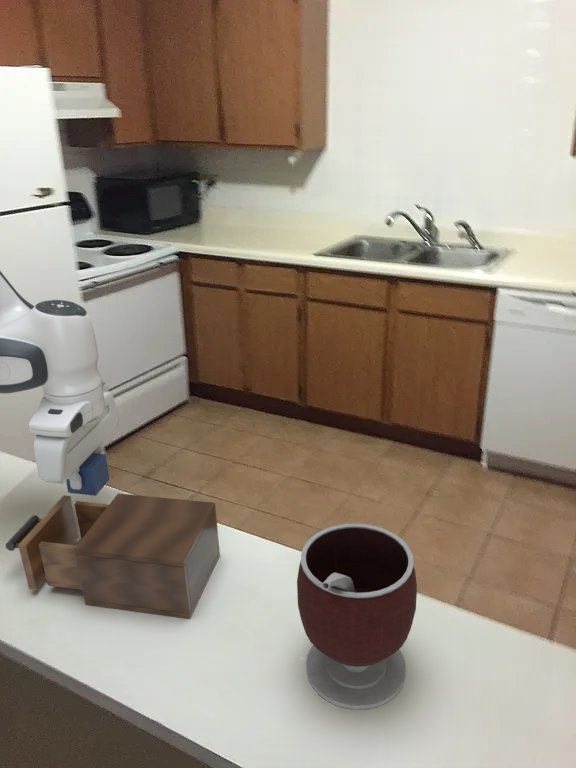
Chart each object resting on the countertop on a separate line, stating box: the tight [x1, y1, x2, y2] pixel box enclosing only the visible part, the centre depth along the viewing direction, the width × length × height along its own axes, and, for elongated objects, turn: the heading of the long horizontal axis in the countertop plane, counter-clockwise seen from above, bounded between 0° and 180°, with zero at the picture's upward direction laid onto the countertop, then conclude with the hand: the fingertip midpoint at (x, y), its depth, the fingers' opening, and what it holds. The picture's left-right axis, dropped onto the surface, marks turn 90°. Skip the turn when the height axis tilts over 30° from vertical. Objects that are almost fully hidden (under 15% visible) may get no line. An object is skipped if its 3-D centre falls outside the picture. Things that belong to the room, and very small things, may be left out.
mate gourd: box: [296, 523, 418, 711], centre depth 78 cm, size 16×14×20 cm
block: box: [65, 453, 110, 497], centre depth 111 cm, size 5×5×5 cm
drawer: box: [4, 494, 110, 591], centre depth 100 cm, size 19×13×8 cm, turn 78°
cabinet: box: [74, 493, 221, 620], centre depth 98 cm, size 16×14×10 cm
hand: (87, 476), depth 111 cm, fingers closed on block, 5 cm apart
